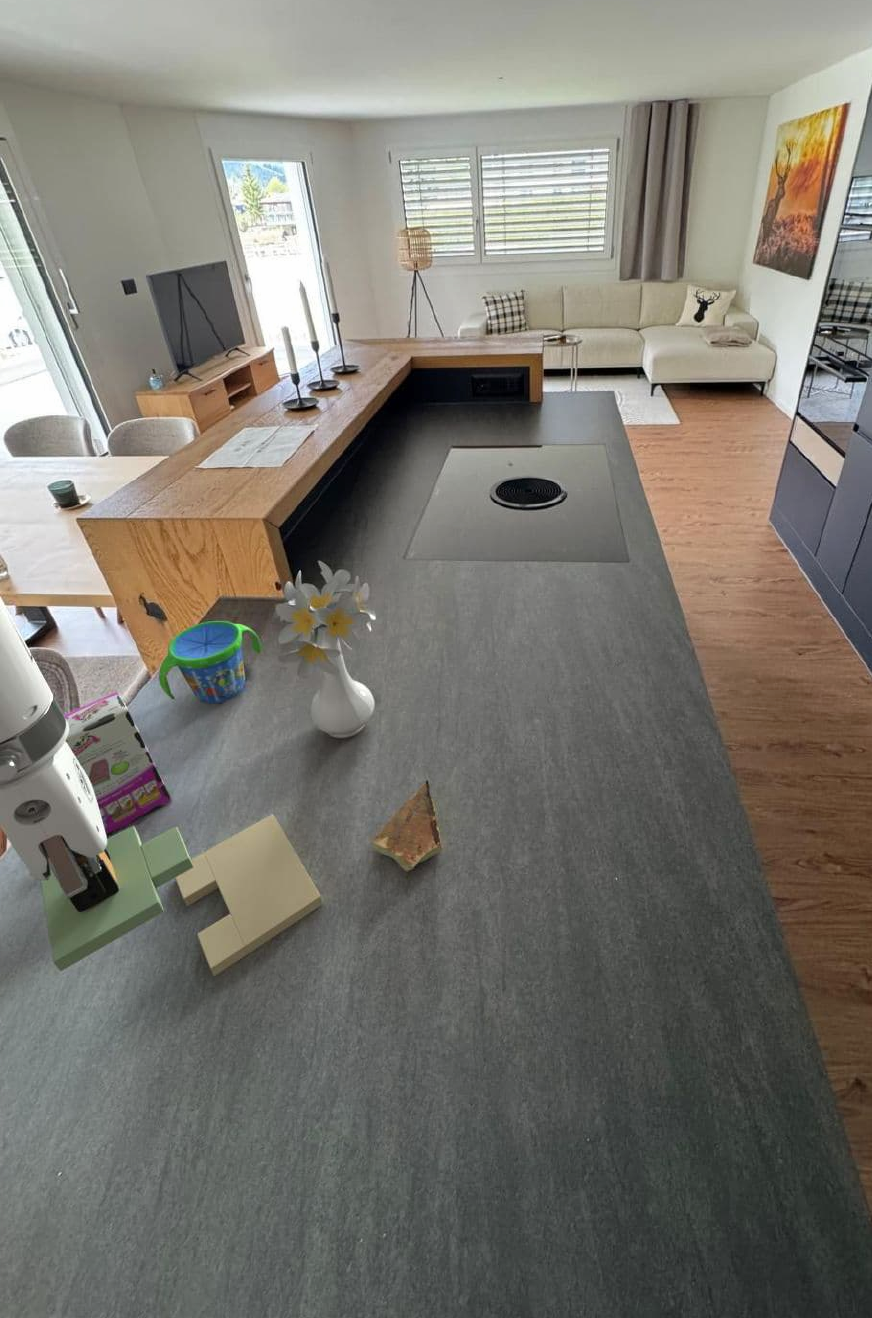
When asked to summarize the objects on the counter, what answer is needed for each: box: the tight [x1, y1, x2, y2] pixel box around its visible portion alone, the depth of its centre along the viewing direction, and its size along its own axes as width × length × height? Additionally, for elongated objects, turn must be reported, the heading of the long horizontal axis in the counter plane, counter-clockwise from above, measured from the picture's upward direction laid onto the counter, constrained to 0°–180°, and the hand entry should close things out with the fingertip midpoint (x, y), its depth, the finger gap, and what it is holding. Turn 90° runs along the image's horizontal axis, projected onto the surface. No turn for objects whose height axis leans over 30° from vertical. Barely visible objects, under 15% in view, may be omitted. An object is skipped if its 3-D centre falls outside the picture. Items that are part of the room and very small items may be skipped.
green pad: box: [39, 825, 193, 972], centre depth 55 cm, size 11×10×8 cm
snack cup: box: [158, 620, 262, 704], centre depth 98 cm, size 16×10×10 cm
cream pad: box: [174, 813, 324, 977], centre depth 70 cm, size 12×14×2 cm
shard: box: [372, 779, 444, 872], centre depth 76 cm, size 11×8×2 cm
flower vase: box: [272, 560, 377, 739], centre depth 86 cm, size 13×18×25 cm
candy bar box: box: [64, 690, 172, 837], centre depth 76 cm, size 11×5×16 cm, turn 131°
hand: (94, 882), depth 55 cm, fingers closed on green pad, 3 cm apart
